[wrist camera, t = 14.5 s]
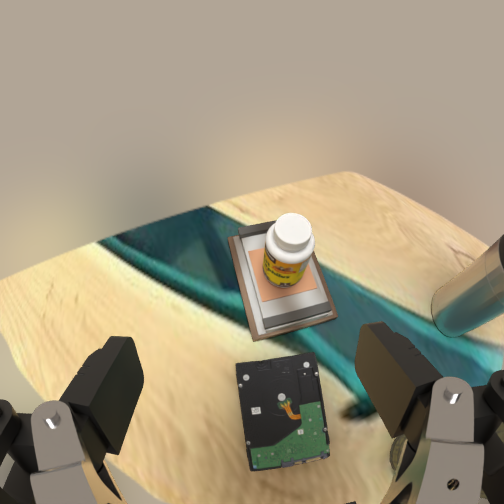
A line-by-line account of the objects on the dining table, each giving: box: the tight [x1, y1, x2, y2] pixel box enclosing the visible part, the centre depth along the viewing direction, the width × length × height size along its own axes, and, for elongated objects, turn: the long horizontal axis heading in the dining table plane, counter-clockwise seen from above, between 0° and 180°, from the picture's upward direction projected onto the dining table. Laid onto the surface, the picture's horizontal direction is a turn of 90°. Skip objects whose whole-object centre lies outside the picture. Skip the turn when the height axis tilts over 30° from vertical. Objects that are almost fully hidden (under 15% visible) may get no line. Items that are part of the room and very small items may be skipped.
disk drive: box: [236, 352, 330, 471], centre depth 30 cm, size 10×3×15 cm
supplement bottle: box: [263, 213, 315, 288], centre depth 33 cm, size 6×6×10 cm
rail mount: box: [228, 220, 338, 342], centre depth 38 cm, size 12×16×4 cm
